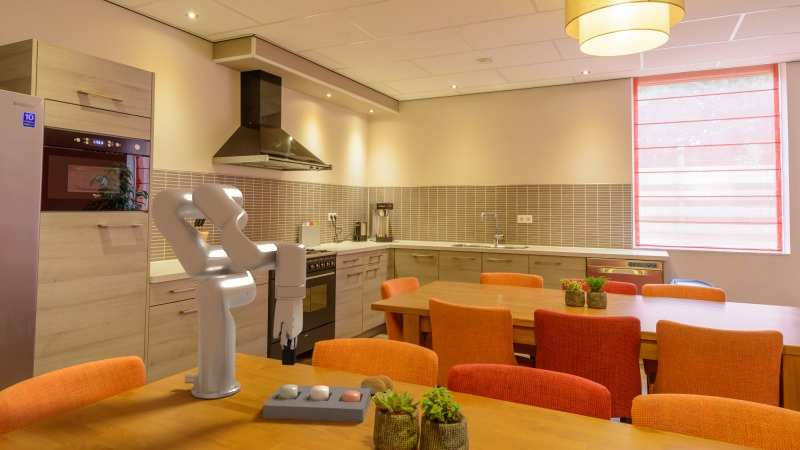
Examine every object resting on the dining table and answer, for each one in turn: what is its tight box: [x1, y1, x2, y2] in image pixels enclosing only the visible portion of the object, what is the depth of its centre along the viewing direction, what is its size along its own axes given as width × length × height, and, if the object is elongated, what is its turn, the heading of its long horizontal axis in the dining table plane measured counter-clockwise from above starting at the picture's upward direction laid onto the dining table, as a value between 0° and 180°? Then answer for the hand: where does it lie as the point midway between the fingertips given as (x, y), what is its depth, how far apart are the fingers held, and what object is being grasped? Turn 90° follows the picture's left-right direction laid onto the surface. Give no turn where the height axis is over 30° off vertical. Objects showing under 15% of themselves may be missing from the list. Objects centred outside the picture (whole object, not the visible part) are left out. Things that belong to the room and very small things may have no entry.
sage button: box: [279, 383, 299, 400], centre depth 117 cm, size 4×4×4 cm
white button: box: [311, 384, 330, 401], centre depth 117 cm, size 4×4×4 cm
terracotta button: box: [342, 391, 360, 402], centre depth 116 cm, size 4×4×4 cm
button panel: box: [262, 384, 371, 423], centre depth 117 cm, size 24×14×3 cm, turn 86°
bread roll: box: [360, 374, 394, 394], centre depth 131 cm, size 8×9×4 cm
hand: (289, 364), depth 117 cm, fingers closed
